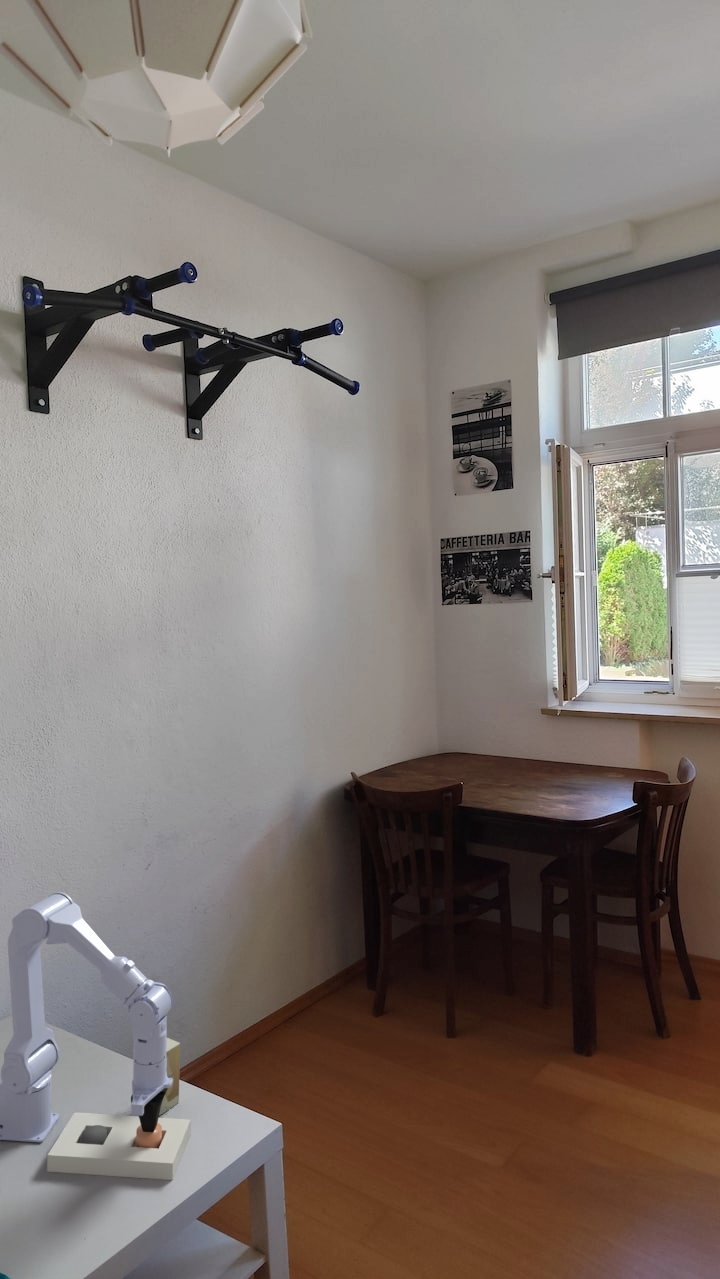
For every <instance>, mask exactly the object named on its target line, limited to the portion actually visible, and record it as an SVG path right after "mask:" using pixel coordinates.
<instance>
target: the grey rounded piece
mask: <svg viewBox="0 0 720 1279" xmlns="http://www.w3.org/2000/svg"><path fill="white" fill-rule="evenodd" d="M106 1138H107V1129H106V1128H105V1127H104V1126H101V1125H94V1126H90V1127H88V1128H86V1129H85V1130H84V1131H83V1132H82V1134H81V1144H96V1145H103V1144H104V1142H105V1140H106Z"/></svg>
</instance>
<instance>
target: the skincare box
mask: <svg viewBox="0 0 720 1279" xmlns="http://www.w3.org/2000/svg"><path fill="white" fill-rule="evenodd" d="M166 1058H167V1068H166V1071H167V1077H168V1078H172V1079H173V1083H172V1086H171V1087H170V1088H168V1090H167V1092H166V1094H165V1096H164V1098H163V1101H162V1104H161V1108H160V1113H159V1117H160V1116H161V1115H163V1114H164V1113H166V1112H168V1110H170V1109H172V1108H173V1107H175V1106H176V1105H177V1104H179V1102H180V1101H179V1100H180V1072H181V1071H180V1065H181V1064H180V1062H181V1043H180V1042H178V1041H176V1040H174V1039H171V1038H169V1037H167V1053H166Z"/></svg>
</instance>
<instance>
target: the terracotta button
mask: <svg viewBox="0 0 720 1279" xmlns="http://www.w3.org/2000/svg"><path fill="white" fill-rule="evenodd" d="M161 1142H162V1126H161V1125H160V1124H159V1123H157V1126H156V1129H155V1131H154V1132H143V1130H142V1127H141V1125H140V1126H139V1127H138V1128H137V1131H136V1147H142V1148H157V1149H159V1147H160V1145H161Z"/></svg>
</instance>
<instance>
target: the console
mask: <svg viewBox="0 0 720 1279" xmlns="http://www.w3.org/2000/svg"><path fill="white" fill-rule="evenodd" d="M158 1123H159V1124H160V1125H161V1126H162V1142H161V1145H160V1147H159V1149H157V1148H142V1147H136V1131H137V1128H138V1127H139V1126H140V1125H141V1123H140V1119H139V1116H137V1115H122V1114H121V1115H120V1114H106V1113H105V1114H104V1113H91V1112H79V1111H78V1112H76V1111H75V1112H74V1113H72V1116H71V1117H70V1119H69V1121H68V1122H67V1123H66V1125H65V1127H64V1129H63V1130H62V1132H61V1133H60V1134H59V1136H58V1138H57V1139H56V1141H55V1143H54V1144H53V1145H52V1147H51V1149H50V1150H49V1152H48V1153H47V1155H46V1156H47V1159H46V1161H47V1162H46V1163H47V1165H46V1166H47V1169H46V1170H47V1172H48V1173H61V1174H62V1173H64V1174H77V1175H78V1174H79V1175H91V1176H108V1177H121V1178H123V1177H124V1178H136V1179H137V1178H139V1179H151V1180H153V1179H154V1180H163V1181H164V1180H165V1181H166V1180H167V1181H173V1180H174V1177H175V1175H176V1173H177V1170H178V1167H179V1165H180V1162H181V1161H182V1157H183V1156H184V1152H185V1150H186V1147H187V1145H188V1142H189V1141H190V1138H191V1133H192V1132H191V1131H192V1127H191V1126H192V1120H191V1119H187V1118H186V1119H185V1118H183V1119H182V1118H172V1117H171V1118H168V1117H159V1118H158ZM94 1125H101V1126H104V1127H105V1128H106V1129H107V1138H106V1140H105V1142H104V1144H103V1145H96V1144H81V1134H82V1132H83V1131H84V1130H85V1129H86V1128H88V1127H90V1126H94Z"/></svg>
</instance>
